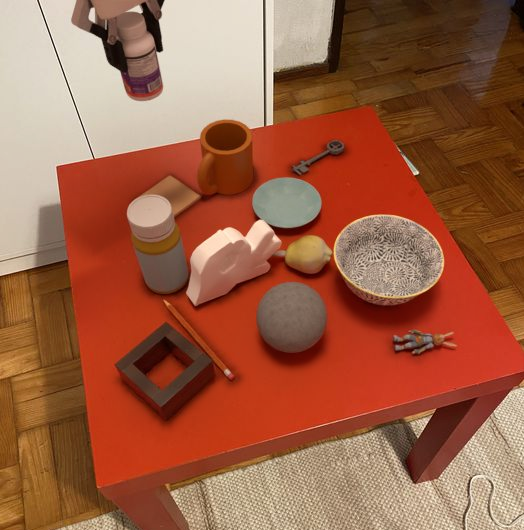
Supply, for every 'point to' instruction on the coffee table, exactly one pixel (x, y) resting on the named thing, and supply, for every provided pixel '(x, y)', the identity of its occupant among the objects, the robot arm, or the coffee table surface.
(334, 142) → the key
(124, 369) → the holder
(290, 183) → the saucer
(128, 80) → the pill bottle
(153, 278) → the bottle
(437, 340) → the figurine
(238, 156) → the mug
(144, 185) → the coffee table surface
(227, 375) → the pencil
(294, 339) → the decorative ball
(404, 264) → the bowl
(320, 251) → the fruit
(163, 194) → the coaster
